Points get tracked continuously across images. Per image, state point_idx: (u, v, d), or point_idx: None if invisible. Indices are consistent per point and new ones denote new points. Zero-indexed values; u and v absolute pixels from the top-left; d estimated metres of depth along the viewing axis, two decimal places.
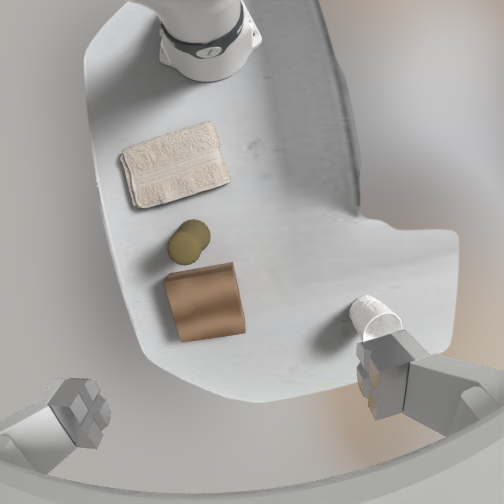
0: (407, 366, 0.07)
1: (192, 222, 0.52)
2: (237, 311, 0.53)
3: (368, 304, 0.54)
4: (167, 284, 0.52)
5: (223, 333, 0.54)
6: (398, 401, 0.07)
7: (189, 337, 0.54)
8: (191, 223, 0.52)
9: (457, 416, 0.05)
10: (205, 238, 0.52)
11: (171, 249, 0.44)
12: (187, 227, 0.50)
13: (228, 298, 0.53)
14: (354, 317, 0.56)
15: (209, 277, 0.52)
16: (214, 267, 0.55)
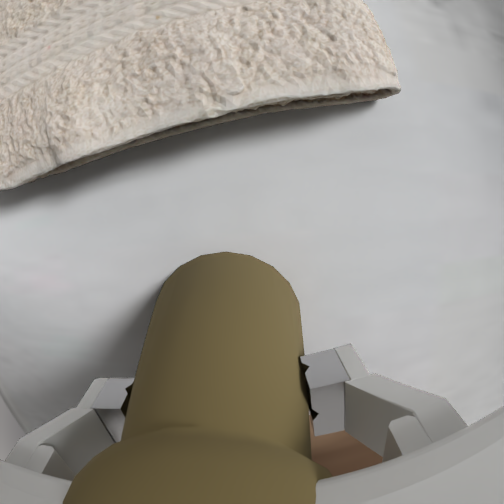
0: (344, 385, 0.07)
1: (226, 274, 0.10)
2: None
3: None
4: None
5: None
6: (337, 419, 0.07)
7: None
8: (223, 283, 0.09)
9: (386, 445, 0.05)
10: None
11: None
12: (205, 327, 0.07)
13: None
14: None
15: None
16: (310, 434, 0.12)
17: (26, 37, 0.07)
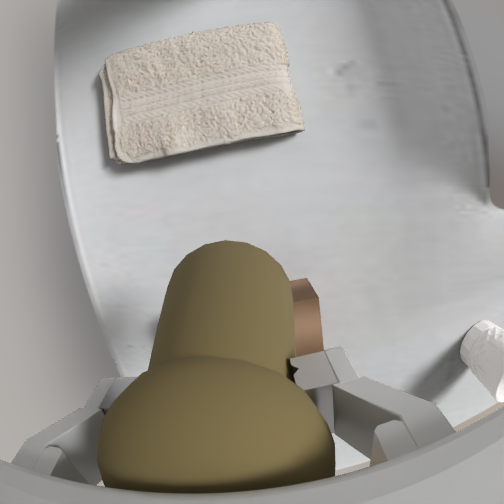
0: (333, 387, 0.07)
1: (226, 257, 0.12)
2: None
3: (496, 335, 0.28)
4: None
5: None
6: None
7: None
8: (223, 263, 0.11)
9: (373, 449, 0.05)
10: (294, 330, 0.11)
11: None
12: (209, 294, 0.09)
13: (306, 349, 0.26)
14: (475, 355, 0.29)
15: None
16: None
17: (142, 94, 0.23)
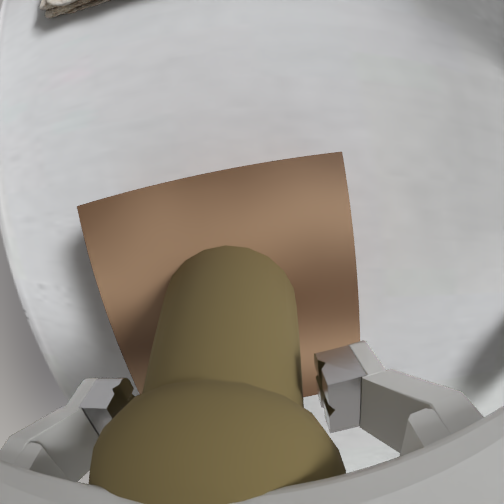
0: (360, 380, 0.07)
1: (226, 263, 0.11)
2: (349, 316, 0.14)
3: None
4: (88, 214, 0.13)
5: None
6: (353, 415, 0.07)
7: None
8: (224, 271, 0.11)
9: (405, 438, 0.05)
10: None
11: None
12: (209, 305, 0.09)
13: (323, 267, 0.13)
14: None
15: (249, 177, 0.12)
16: None
17: None
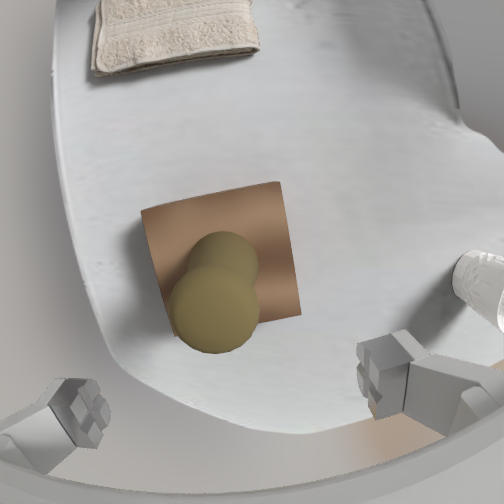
0: (407, 366, 0.07)
1: (221, 238, 0.24)
2: (289, 270, 0.27)
3: (489, 258, 0.28)
4: (147, 215, 0.25)
5: None
6: (398, 401, 0.07)
7: None
8: (219, 240, 0.23)
9: (457, 416, 0.05)
10: (254, 273, 0.23)
11: (178, 319, 0.16)
12: (212, 251, 0.21)
13: (272, 241, 0.26)
14: (469, 282, 0.29)
15: (232, 196, 0.25)
16: None
17: (126, 20, 0.23)
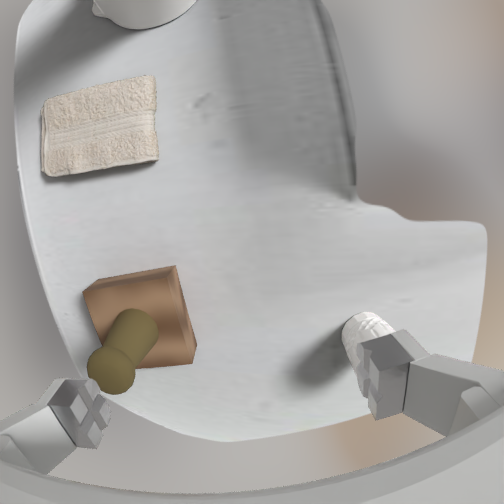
0: (407, 366, 0.07)
1: (128, 316, 0.34)
2: (179, 335, 0.37)
3: (368, 326, 0.38)
4: (86, 295, 0.35)
5: (163, 362, 0.38)
6: (398, 401, 0.07)
7: None
8: (126, 319, 0.33)
9: (457, 416, 0.05)
10: (147, 342, 0.33)
11: (90, 376, 0.26)
12: (117, 330, 0.31)
13: (165, 316, 0.36)
14: (348, 344, 0.39)
15: (136, 286, 0.35)
16: (149, 272, 0.38)
17: (61, 130, 0.33)
